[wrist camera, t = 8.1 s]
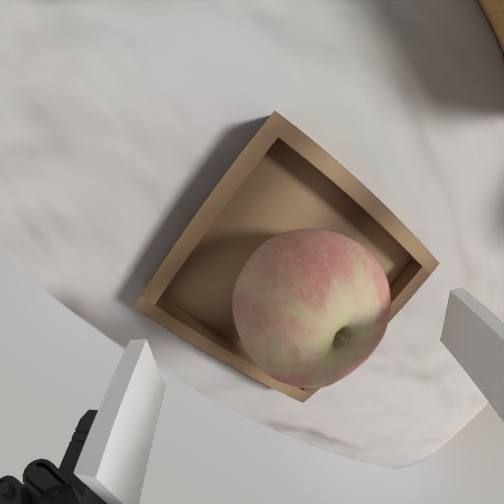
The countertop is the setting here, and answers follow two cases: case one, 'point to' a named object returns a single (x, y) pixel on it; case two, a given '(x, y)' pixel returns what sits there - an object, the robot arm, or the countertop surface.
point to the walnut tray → (265, 227)
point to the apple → (311, 306)
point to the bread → (495, 17)
